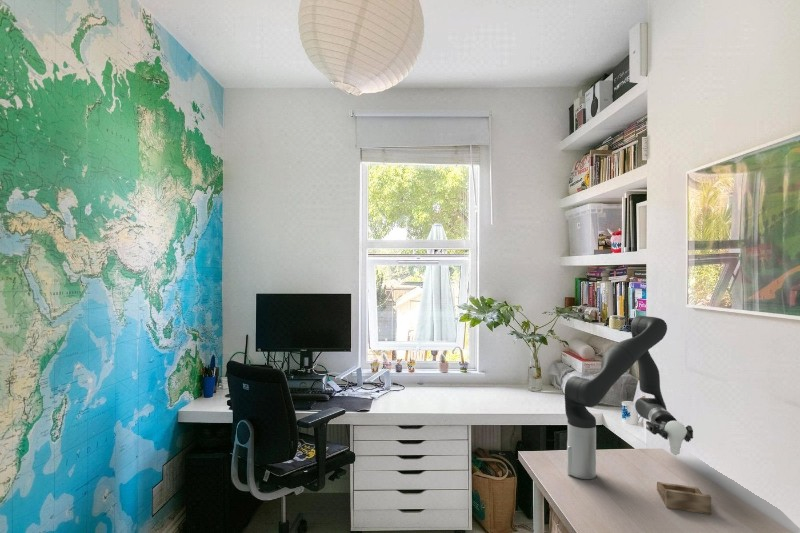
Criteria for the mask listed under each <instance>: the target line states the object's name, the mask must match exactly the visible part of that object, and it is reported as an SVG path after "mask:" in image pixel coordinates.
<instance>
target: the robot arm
mask: <svg viewBox="0 0 800 533" xmlns="http://www.w3.org/2000/svg"><path fill="white" fill-rule="evenodd" d="M630 331H631V332H630V333H631V338H626V339H625V340H621V341H619V342H617V343H615V344H613V345H612V346H611V347H609V349H608V350H607V351H605V352H604V354H602V357H601V362H600V366H601V367H600V372H599V373H598V374H597V375H596V376H595V377H593V378H590V379H588V378H584V377H581V376H575V375H574V376H569V378H568V379H567V380H566V382H565V386H564V407H565V408H564V411H565V412H564V413H565V415H566V419H567V440H566V470H567V475H568V476H572V477H574V478H577V479H582V480H593V479H595V478H596V477H597V420H596V417H595V416H594V415H593V413H591V412H590V411H589V410H588V409H587V408H593V407H596V406H597V405H598V404H600V403H601V401H602V400H603V398H604V397H605V396H606V395H607V394H608V392H609V390H611V388H612V387H613V386H614V385H615V384H616V382H617V381H618V380H619V379H620V378H621V377H622V376H623V375H625V373H626V372H628V370H629V369H630V368H632V366H633V365H634V364H635V363H636V362H637V365H638V377H639V379H638V380H639V390H640V391H641V392H642V393H645V394H649V395H651V396H654V398H653V397H639V398H638V399H637V400H635V403H634V408H635V410H636V411H635V412H636V413H637V414H638V415H639V417H641V418H643V419H645V420H646V421H645V429H646V430H647V431H648V432H649V433H651V434H652V435H657V434H658V436H660V437H662V438H663V439H664V440H668V441H669V439H668V433H667V432H666V431H665V425H666V424H667V423H668V422H669V421H678V420H677V418H675V417H674V415H673V414H672V413H670V412H669V411H668V408H667V406H666V402H665V400H664V398H663V395H662V390H661V377H660V371H659V367H658V366H657V364H656V362H655V360H654V358H653V357H652V355H651V353H650V351H649V350H651V348H653V347H654V346H655V345H656V346H657V344H658V343H659V342H660V341H662V340H663V339H664V338H665V336H666V334H667V331H668V324H667V322H666V321H665V320H664V319H662V318H659V317H657V316H656V317H655V316H649V315H648V316H646V315H637V316H634V317H633V319H632V321H631V323H630ZM685 428H686V430H687V434H686V437H685V438H684V440H683V441H685V442H686V443H687V442H688V443H689V442H691V440H692V439H694V430H693V427H692V426H691V425H686V426H685Z"/></svg>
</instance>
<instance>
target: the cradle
mask: <svg viewBox="0 0 800 533" xmlns="http://www.w3.org/2000/svg"><path fill="white" fill-rule="evenodd" d="M656 490H657V493H658V495H659V496H660V498H661V500H662V502H663V504H664V505H665V508H667V509H674V510H682V511H687V512H693V513H698V514H700V513H701V514H706V515H712V496H711V495H710V494H704V493H702V491H701V489H699V487H697V486H692V485H691V486H690V485H681V484H677V483H670V482H669V483H668V482H662V481H657V482H656Z"/></svg>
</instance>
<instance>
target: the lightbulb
mask: <svg viewBox="0 0 800 533" xmlns="http://www.w3.org/2000/svg"><path fill="white" fill-rule="evenodd" d="M685 427H686V426H685V425H684V424H683V423H682V422H680V421H679V420H677V421H669V422H668V423H667V424H666V425H665V431H666V432H667V433H668V441H669V442H668V444H669V447H670V448H669V449H670V453H671V454H672V455H674V456H677V455H680V453H681V448H682V443H683V441H685V440H684V438H685V437H686V434H687V430H686V428H685Z"/></svg>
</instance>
